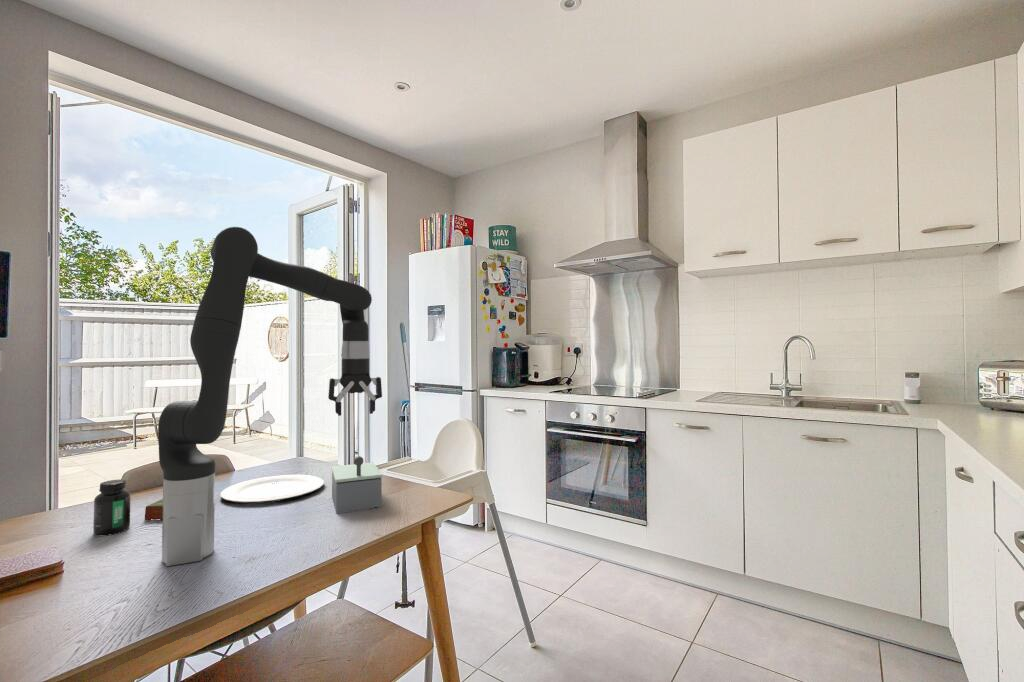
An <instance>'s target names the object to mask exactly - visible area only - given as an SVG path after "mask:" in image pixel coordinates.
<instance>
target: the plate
mask: <svg viewBox="0 0 1024 682" xmlns="http://www.w3.org/2000/svg"><path fill="white" fill-rule="evenodd" d="M276 482H277V483H276ZM272 483H273V484H272ZM274 483H275V484H274ZM324 484H325V480H324V479H323V478H321V477H318V476H317V475H316V476H315V475H308V474H283V475H273V476H265V477H259V478H253V479H248V480H245V481H241V482H238V483H236V484H232V485H229V486H228V487H226V488H224V489H223V490H222V491H221V492H220V498H222V499H223V500H224V501H227V502H232V503H243V504H244V503H245V504H249V503H250V504H259V503H258V502H264V503H272V502H271V501H274V502H278V500H280V501H285V500H284V499H286V500H290V499H294V498H296V497H297V498H298V497H301V496H304V495H308V494H311V493H313V492H315V491H317V490H319V489H320V488H321V487H323V486H324ZM293 497H294V498H293ZM289 498H290V499H289Z"/></svg>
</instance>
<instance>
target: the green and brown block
mask: <svg viewBox="0 0 1024 682" xmlns="http://www.w3.org/2000/svg"><path fill="white" fill-rule="evenodd" d="M144 511H145V513H144V521H145V520H151V519H163V498H161V499H159V500H157V501H155V502H152V503H151V504H148V505H146V506H145V509H144Z"/></svg>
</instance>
